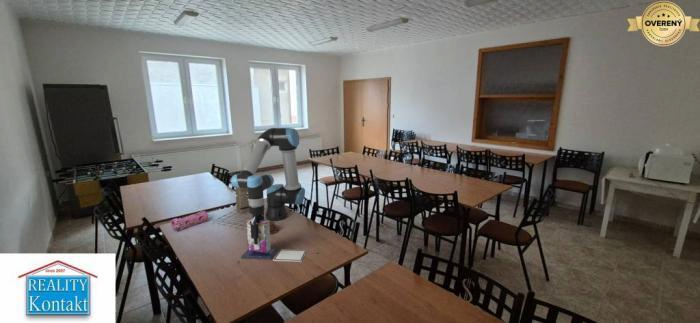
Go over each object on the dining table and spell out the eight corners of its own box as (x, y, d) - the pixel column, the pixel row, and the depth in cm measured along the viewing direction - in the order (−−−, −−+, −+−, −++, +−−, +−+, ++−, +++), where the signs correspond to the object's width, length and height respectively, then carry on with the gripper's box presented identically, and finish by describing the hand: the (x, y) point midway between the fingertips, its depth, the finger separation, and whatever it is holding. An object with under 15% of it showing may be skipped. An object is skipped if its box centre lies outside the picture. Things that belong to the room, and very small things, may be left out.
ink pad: (249, 249, 162) (248, 247, 162) (277, 250, 161) (276, 248, 161) (241, 258, 152) (240, 256, 152) (270, 259, 151) (270, 257, 151)
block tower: (241, 216, 214) (239, 177, 208) (236, 213, 219) (233, 175, 214) (251, 213, 219) (249, 175, 214) (246, 210, 225) (243, 173, 220)
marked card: (280, 249, 162) (280, 249, 162) (306, 250, 161) (306, 250, 160) (272, 260, 150) (272, 260, 150) (301, 261, 149) (301, 261, 149)
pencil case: (177, 234, 183) (176, 220, 182) (170, 230, 189) (169, 217, 187) (210, 223, 200) (209, 211, 199) (203, 220, 206) (202, 208, 204)
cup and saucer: (277, 227, 193) (276, 218, 192) (279, 234, 182) (279, 225, 181) (258, 230, 188) (257, 221, 187) (259, 237, 177) (259, 228, 176)
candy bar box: (247, 251, 155) (245, 222, 153) (252, 246, 160) (251, 218, 157) (266, 253, 153) (264, 224, 150) (271, 249, 157) (269, 220, 155)
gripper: (256, 199, 161) (259, 238, 165) (241, 211, 143) (245, 254, 147) (269, 199, 161) (272, 238, 165) (256, 211, 142) (259, 255, 147)
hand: (259, 246), depth 156 cm, fingers closed on candy bar box, 5 cm apart
